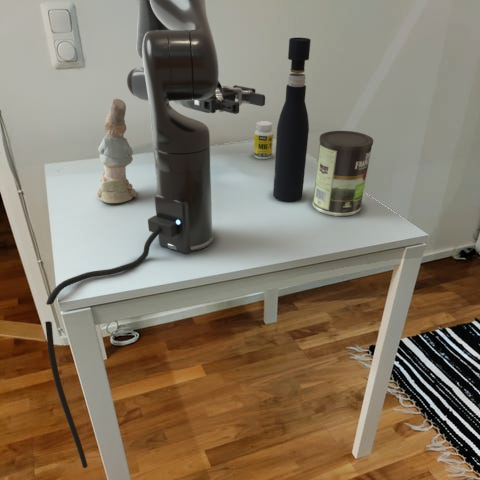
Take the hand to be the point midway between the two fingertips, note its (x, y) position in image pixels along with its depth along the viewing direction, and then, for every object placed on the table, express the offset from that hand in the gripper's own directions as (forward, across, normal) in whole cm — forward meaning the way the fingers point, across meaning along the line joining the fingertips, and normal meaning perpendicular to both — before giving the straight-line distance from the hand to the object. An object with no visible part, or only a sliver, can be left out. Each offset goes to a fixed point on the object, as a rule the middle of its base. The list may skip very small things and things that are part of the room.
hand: (251, 104), depth 99 cm
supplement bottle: (-9, +17, +17) cm, 26 cm away
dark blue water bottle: (+11, 0, +17) cm, 20 cm away
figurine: (-16, -25, +17) cm, 35 cm away
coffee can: (+22, +3, +17) cm, 28 cm away
